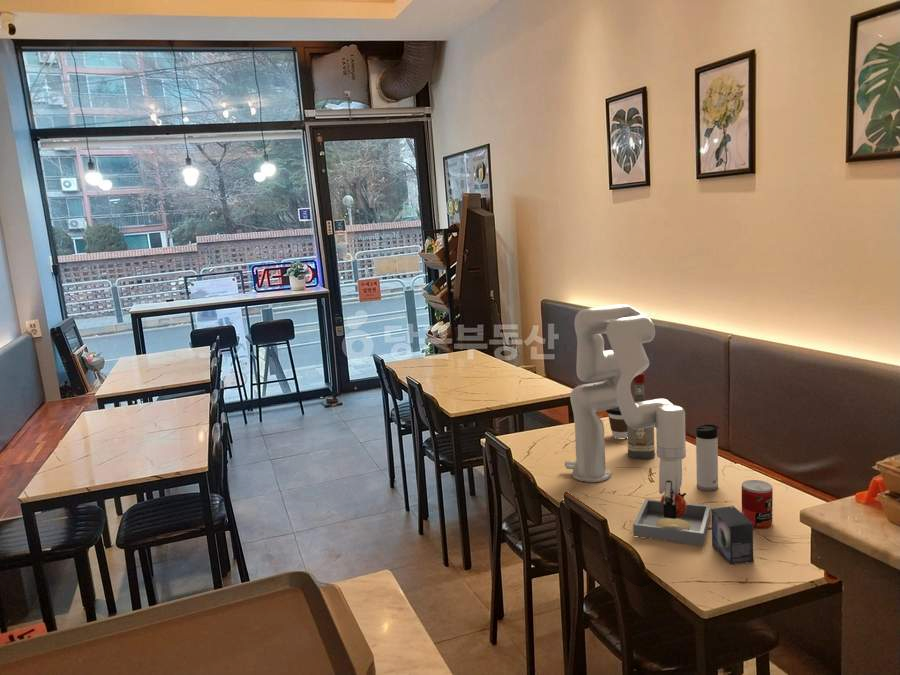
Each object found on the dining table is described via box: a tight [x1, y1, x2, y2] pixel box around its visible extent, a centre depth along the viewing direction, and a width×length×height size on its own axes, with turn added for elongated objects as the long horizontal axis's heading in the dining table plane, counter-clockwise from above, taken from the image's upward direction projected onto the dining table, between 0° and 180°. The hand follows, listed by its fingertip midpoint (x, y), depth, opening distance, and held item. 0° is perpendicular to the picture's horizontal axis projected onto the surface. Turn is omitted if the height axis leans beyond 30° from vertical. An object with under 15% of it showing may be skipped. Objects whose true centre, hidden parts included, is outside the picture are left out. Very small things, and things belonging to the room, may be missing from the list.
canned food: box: [741, 479, 774, 530], centre depth 191 cm, size 8×8×11 cm
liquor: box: [627, 372, 656, 460], centre depth 248 cm, size 9×9×30 cm
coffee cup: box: [605, 407, 627, 439], centre depth 270 cm, size 11×11×12 cm
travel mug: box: [695, 423, 720, 492], centre depth 217 cm, size 6×7×20 cm
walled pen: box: [632, 498, 712, 547], centre depth 193 cm, size 18×18×4 cm
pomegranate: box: [658, 492, 687, 518], centre depth 192 cm, size 7×7×10 cm
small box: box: [710, 505, 755, 565], centre depth 176 cm, size 11×6×10 cm, turn 5°
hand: (672, 511), depth 193 cm, fingers closed on pomegranate, 7 cm apart
